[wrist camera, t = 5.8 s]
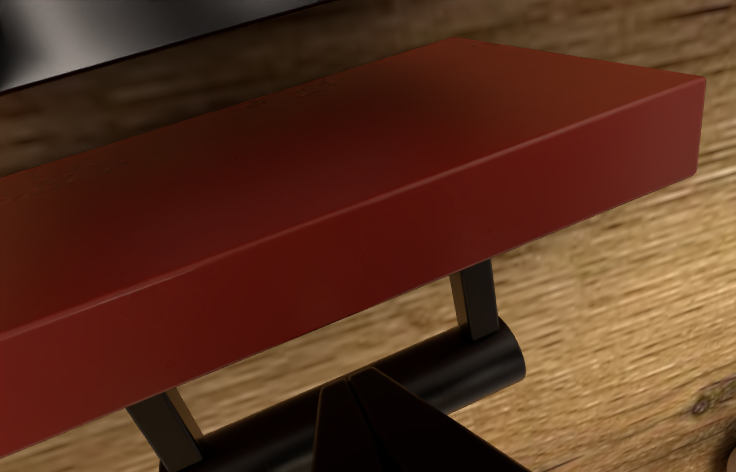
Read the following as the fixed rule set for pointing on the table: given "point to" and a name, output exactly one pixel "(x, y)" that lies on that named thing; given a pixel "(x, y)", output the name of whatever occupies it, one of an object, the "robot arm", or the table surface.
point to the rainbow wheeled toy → (732, 461)
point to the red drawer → (296, 218)
